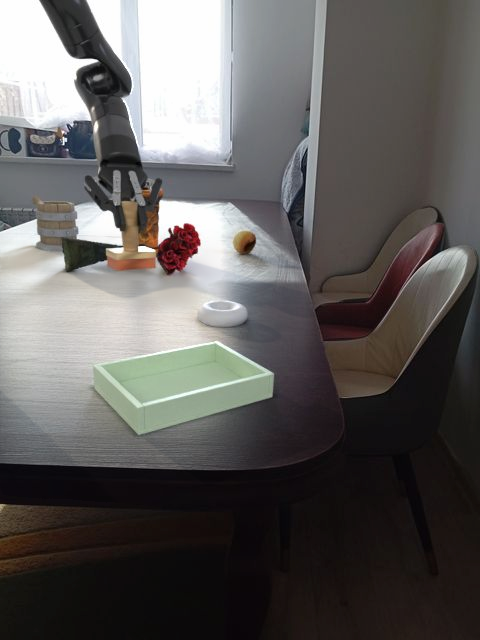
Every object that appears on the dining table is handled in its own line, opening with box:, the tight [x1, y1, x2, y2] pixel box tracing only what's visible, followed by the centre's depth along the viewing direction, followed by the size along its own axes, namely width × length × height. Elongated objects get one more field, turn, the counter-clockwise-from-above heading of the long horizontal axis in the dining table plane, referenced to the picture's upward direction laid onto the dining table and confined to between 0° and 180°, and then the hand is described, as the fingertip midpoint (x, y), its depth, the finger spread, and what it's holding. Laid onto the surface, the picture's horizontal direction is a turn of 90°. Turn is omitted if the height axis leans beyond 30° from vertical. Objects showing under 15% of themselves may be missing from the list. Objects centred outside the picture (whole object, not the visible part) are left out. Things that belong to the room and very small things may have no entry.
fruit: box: [232, 229, 257, 256], centre depth 169 cm, size 8×8×8 cm
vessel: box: [120, 186, 164, 253], centre depth 160 cm, size 14×14×20 cm
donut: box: [196, 300, 249, 328], centre depth 101 cm, size 10×4×10 cm
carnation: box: [61, 222, 202, 276], centre depth 136 cm, size 16×18×35 cm
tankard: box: [30, 195, 79, 252], centre depth 164 cm, size 20×13×15 cm, turn 48°
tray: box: [92, 340, 275, 436], centre depth 70 cm, size 20×15×4 cm
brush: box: [106, 201, 157, 272], centre depth 88 cm, size 7×5×11 cm, turn 127°
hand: (132, 228), depth 86 cm, fingers closed on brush, 2 cm apart
